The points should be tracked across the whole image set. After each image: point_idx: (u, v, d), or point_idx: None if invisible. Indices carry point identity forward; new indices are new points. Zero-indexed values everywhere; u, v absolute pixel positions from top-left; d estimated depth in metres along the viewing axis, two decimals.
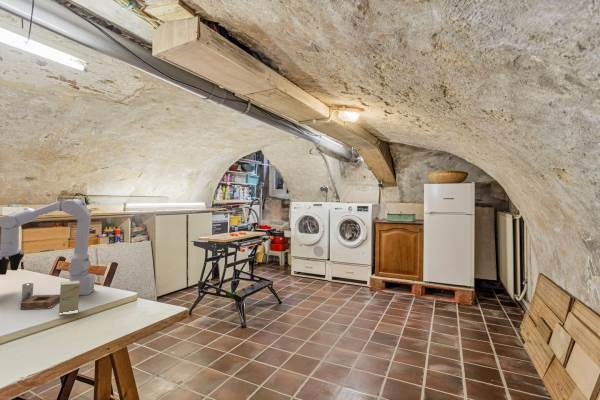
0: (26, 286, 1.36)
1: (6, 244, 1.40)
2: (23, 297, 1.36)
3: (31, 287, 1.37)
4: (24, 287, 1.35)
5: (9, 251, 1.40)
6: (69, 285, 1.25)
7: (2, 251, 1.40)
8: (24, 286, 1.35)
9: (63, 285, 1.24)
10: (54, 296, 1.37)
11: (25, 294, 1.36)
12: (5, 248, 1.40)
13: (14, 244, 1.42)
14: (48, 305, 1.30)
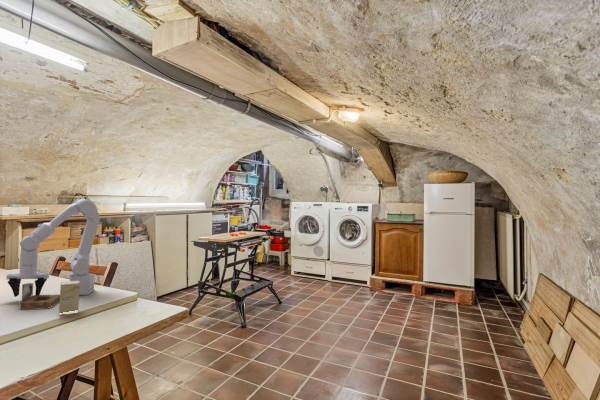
0: (26, 286, 1.36)
1: None
2: (23, 297, 1.36)
3: (31, 287, 1.37)
4: (24, 287, 1.35)
5: (19, 273, 1.35)
6: (69, 285, 1.25)
7: None
8: (24, 286, 1.35)
9: (63, 285, 1.24)
10: (54, 296, 1.37)
11: (25, 294, 1.36)
12: None
13: (21, 267, 1.34)
14: (48, 305, 1.30)
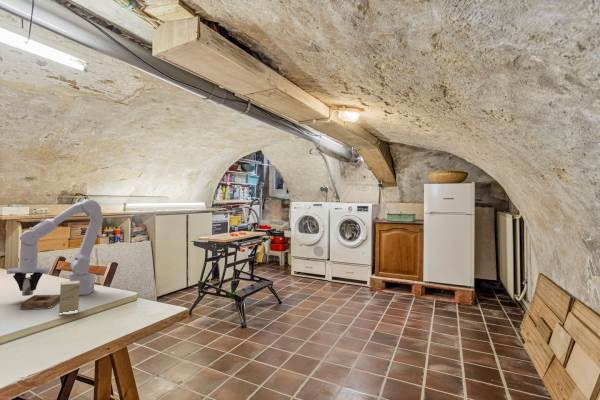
0: (26, 280, 1.36)
1: None
2: (23, 291, 1.35)
3: None
4: (24, 281, 1.35)
5: (19, 268, 1.35)
6: (69, 285, 1.25)
7: None
8: (24, 280, 1.35)
9: (63, 285, 1.24)
10: (54, 296, 1.37)
11: (26, 288, 1.36)
12: None
13: (22, 262, 1.34)
14: (48, 305, 1.30)
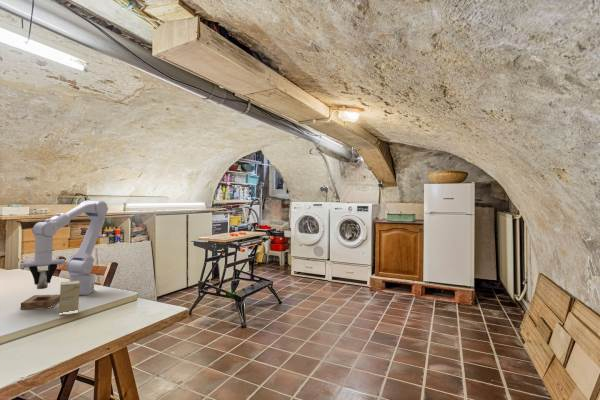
0: (44, 272, 1.32)
1: (35, 253, 1.31)
2: (41, 284, 1.32)
3: None
4: (42, 274, 1.32)
5: (36, 261, 1.31)
6: (69, 285, 1.25)
7: None
8: (42, 273, 1.32)
9: (63, 285, 1.24)
10: (54, 296, 1.37)
11: (44, 281, 1.32)
12: None
13: (40, 254, 1.31)
14: (48, 305, 1.30)
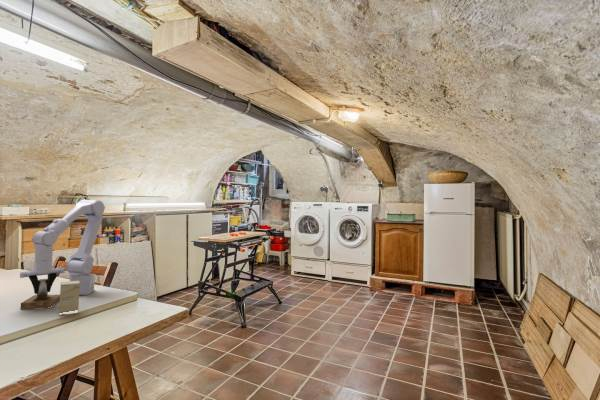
0: (44, 281, 1.32)
1: (35, 262, 1.31)
2: (41, 293, 1.32)
3: (47, 282, 1.34)
4: (42, 283, 1.32)
5: (36, 270, 1.31)
6: (69, 285, 1.25)
7: None
8: (42, 282, 1.32)
9: (63, 285, 1.24)
10: (54, 296, 1.37)
11: (44, 290, 1.32)
12: None
13: (40, 263, 1.31)
14: (48, 305, 1.30)
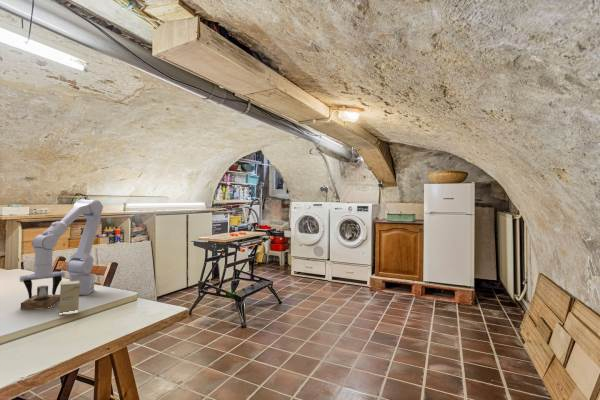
0: (44, 288, 1.33)
1: (35, 266, 1.31)
2: (41, 300, 1.32)
3: (47, 289, 1.34)
4: (42, 289, 1.32)
5: (36, 274, 1.31)
6: (69, 285, 1.25)
7: None
8: (42, 288, 1.32)
9: (63, 285, 1.24)
10: (54, 296, 1.37)
11: (43, 297, 1.32)
12: (34, 270, 1.31)
13: (40, 267, 1.31)
14: (48, 305, 1.30)
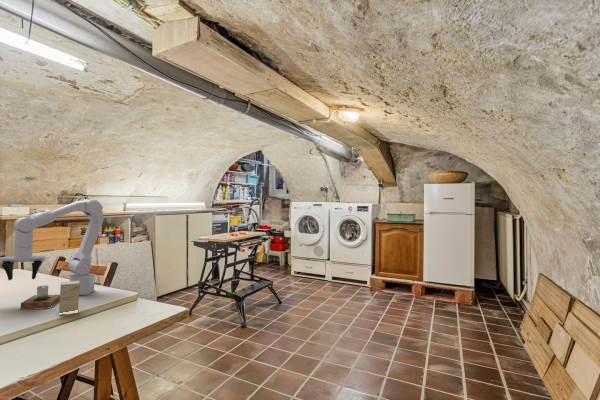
0: (44, 288, 1.33)
1: (14, 248, 1.31)
2: (41, 300, 1.32)
3: (47, 289, 1.34)
4: (42, 289, 1.32)
5: (14, 256, 1.31)
6: (69, 285, 1.25)
7: None
8: (42, 288, 1.32)
9: (63, 285, 1.24)
10: (54, 296, 1.37)
11: (43, 297, 1.32)
12: None
13: (17, 249, 1.30)
14: (48, 305, 1.30)
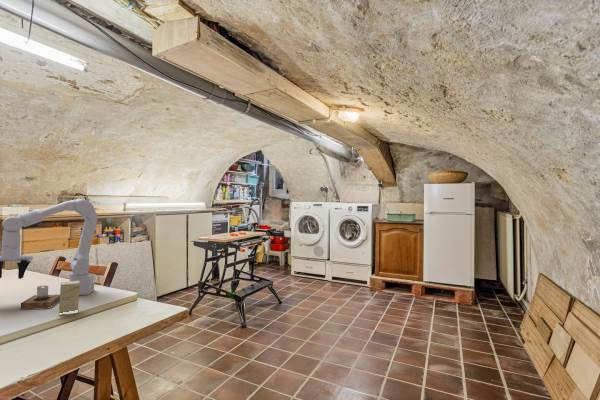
0: (44, 288, 1.33)
1: None
2: (41, 300, 1.32)
3: (47, 289, 1.34)
4: (42, 289, 1.32)
5: (1, 255, 1.31)
6: (69, 285, 1.25)
7: None
8: (42, 288, 1.32)
9: (63, 285, 1.24)
10: (54, 296, 1.37)
11: (44, 296, 1.32)
12: None
13: (3, 248, 1.30)
14: (48, 305, 1.30)
